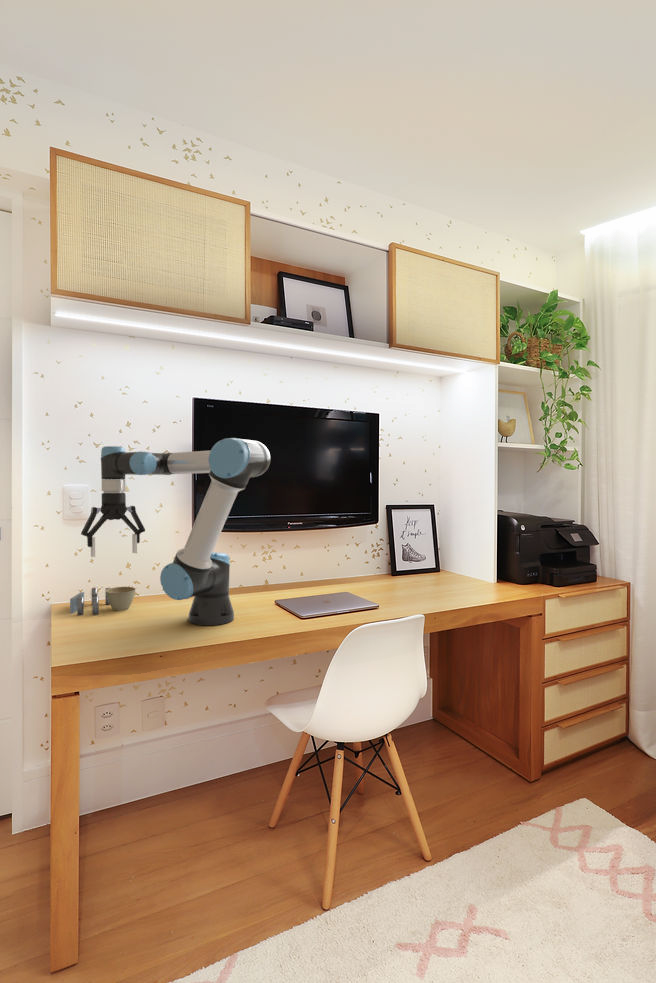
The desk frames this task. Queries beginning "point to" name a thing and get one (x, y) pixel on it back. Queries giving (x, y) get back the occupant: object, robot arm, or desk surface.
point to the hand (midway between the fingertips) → (114, 554)
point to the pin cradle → (78, 603)
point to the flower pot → (120, 597)
